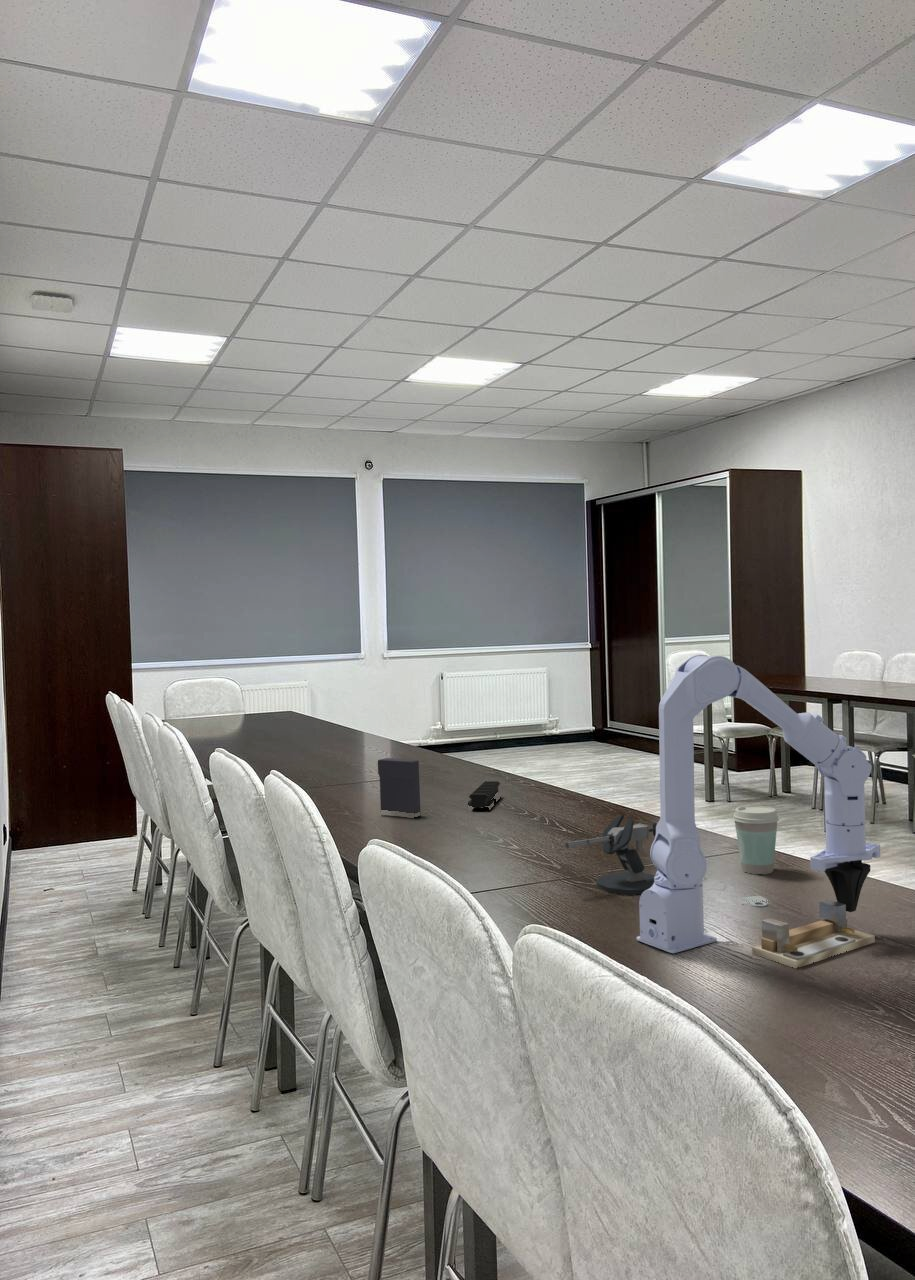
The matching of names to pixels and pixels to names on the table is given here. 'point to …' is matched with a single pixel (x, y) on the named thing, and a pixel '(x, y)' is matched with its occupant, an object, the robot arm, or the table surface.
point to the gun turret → (623, 857)
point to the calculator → (399, 785)
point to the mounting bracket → (754, 898)
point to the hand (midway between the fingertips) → (847, 910)
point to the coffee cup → (756, 838)
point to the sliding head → (835, 914)
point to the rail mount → (484, 794)
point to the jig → (806, 942)
